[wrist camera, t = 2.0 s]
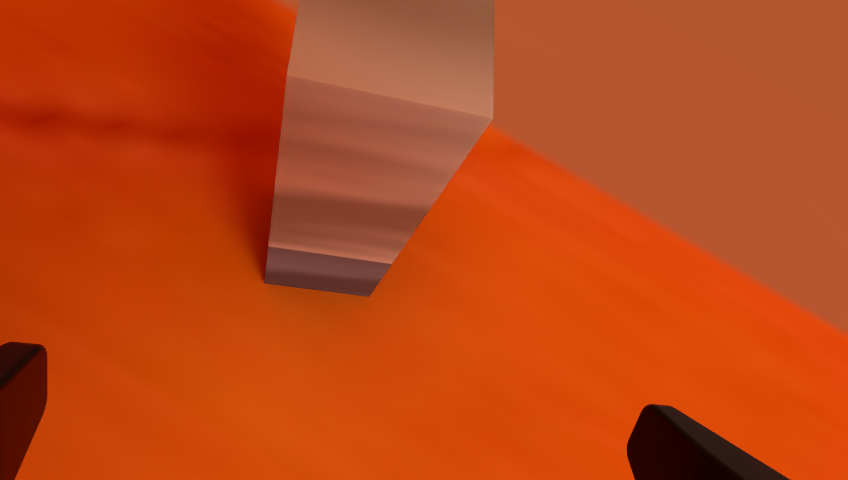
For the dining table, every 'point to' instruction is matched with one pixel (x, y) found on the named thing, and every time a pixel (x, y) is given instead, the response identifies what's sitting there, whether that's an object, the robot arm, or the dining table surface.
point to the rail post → (373, 132)
